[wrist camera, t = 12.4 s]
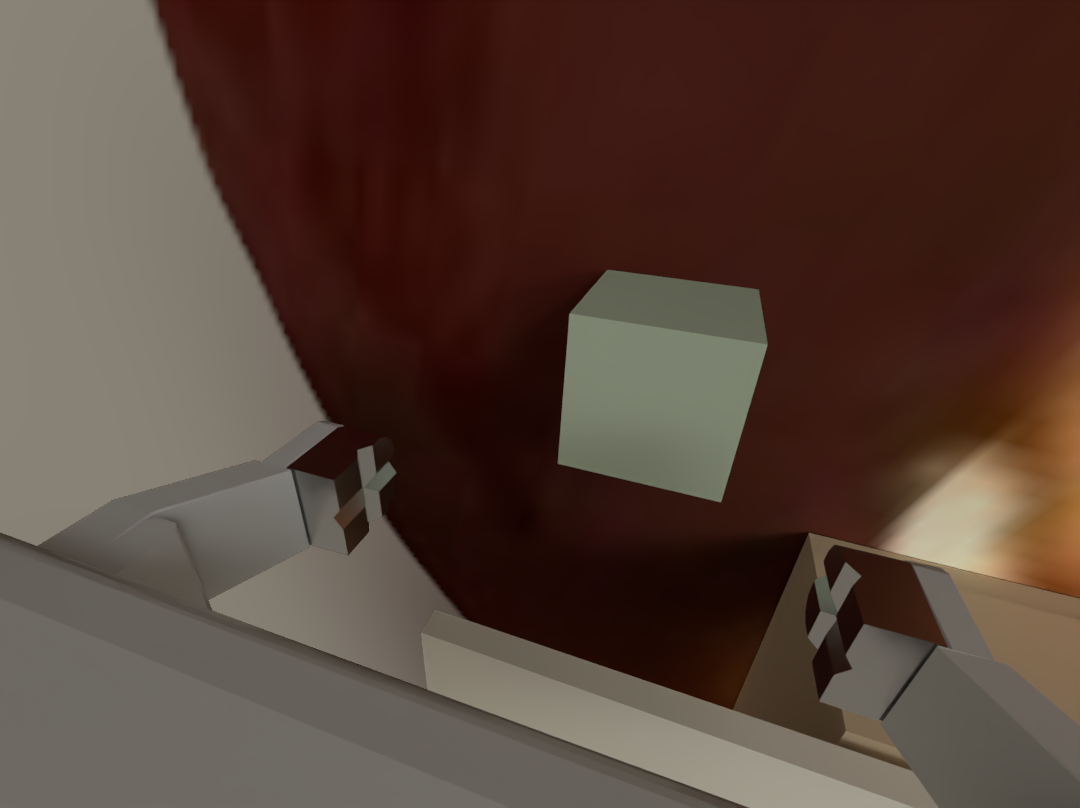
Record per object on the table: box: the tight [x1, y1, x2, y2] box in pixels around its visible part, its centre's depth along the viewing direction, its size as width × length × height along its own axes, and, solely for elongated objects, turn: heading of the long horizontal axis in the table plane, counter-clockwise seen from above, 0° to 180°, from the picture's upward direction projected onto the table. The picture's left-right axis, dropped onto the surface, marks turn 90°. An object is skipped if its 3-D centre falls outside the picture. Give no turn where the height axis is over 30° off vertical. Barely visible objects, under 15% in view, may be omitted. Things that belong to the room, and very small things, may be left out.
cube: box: [558, 270, 768, 502], centre depth 14 cm, size 4×4×4 cm
